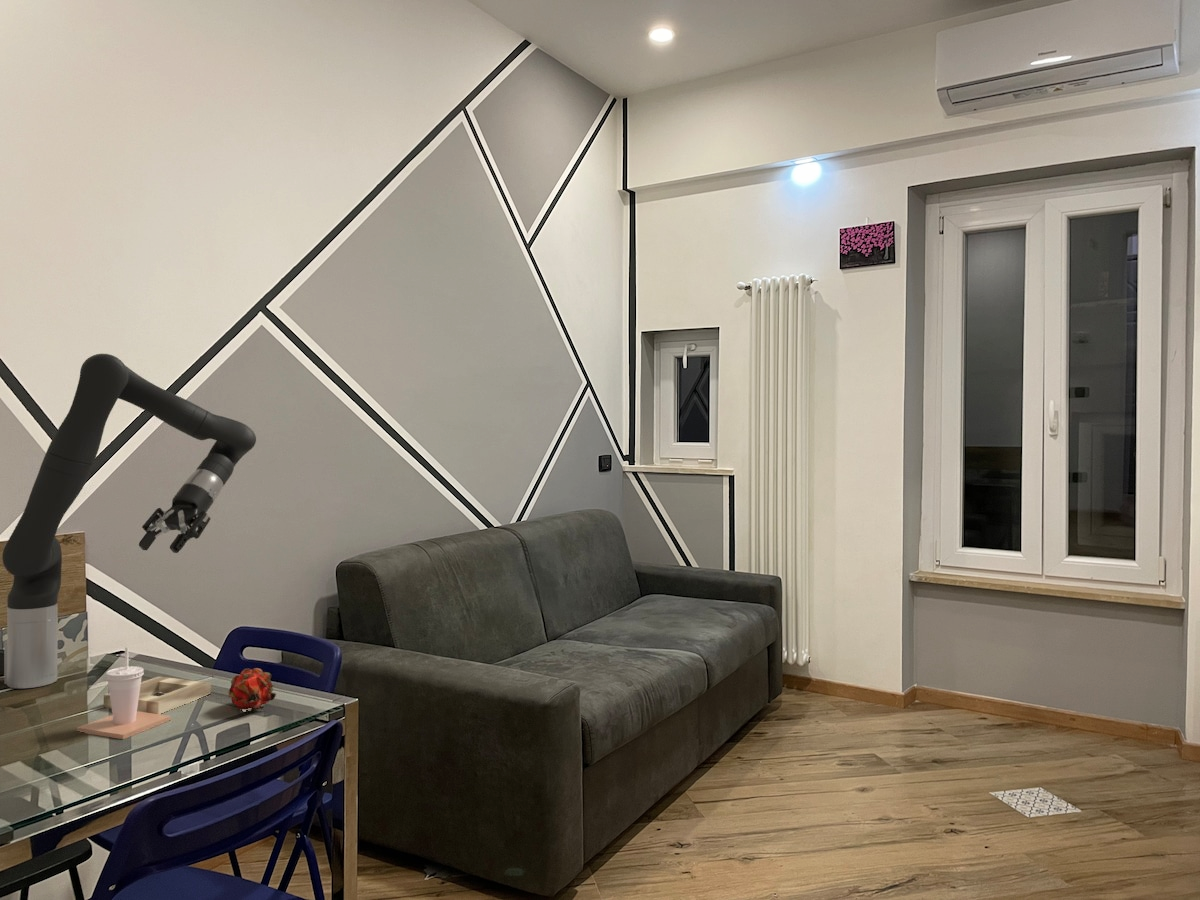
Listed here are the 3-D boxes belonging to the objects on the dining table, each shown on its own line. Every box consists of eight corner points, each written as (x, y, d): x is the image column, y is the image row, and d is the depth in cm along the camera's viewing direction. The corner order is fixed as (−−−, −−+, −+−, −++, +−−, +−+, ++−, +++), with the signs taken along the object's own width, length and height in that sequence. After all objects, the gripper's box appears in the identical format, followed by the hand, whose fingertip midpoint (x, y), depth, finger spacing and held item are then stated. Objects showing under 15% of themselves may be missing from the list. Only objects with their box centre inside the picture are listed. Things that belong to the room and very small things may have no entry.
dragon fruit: (253, 705, 181) (256, 732, 170) (218, 686, 177) (218, 712, 167) (279, 672, 182) (284, 696, 171) (245, 652, 178) (247, 676, 168)
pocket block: (103, 707, 174) (103, 694, 173) (158, 687, 187) (158, 676, 187) (158, 715, 169) (158, 702, 169) (210, 694, 183) (210, 683, 182)
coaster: (77, 731, 159) (77, 727, 159) (126, 713, 170) (126, 709, 170) (123, 739, 156) (123, 734, 156) (170, 720, 166) (170, 716, 166)
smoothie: (150, 716, 166) (151, 644, 166) (129, 727, 160) (130, 653, 159) (119, 714, 167) (119, 643, 166) (97, 726, 160) (97, 651, 160)
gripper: (164, 481, 196) (121, 536, 185) (215, 483, 191) (173, 540, 181) (182, 502, 201) (141, 557, 190) (232, 505, 196) (193, 562, 186)
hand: (157, 549), depth 185 cm, fingers open, 8 cm apart
